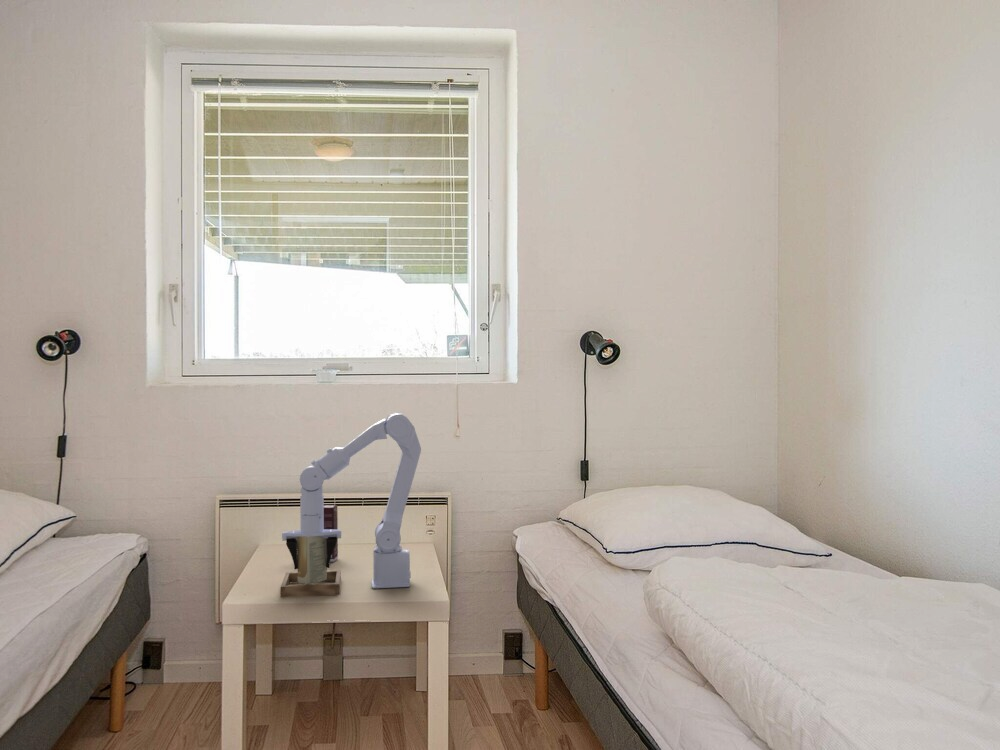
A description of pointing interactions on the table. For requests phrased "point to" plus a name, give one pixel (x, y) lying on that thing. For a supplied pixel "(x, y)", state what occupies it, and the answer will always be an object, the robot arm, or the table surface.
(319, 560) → the skincare box
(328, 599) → the table surface
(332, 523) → the supplement box
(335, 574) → the walnut box
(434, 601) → the table surface
